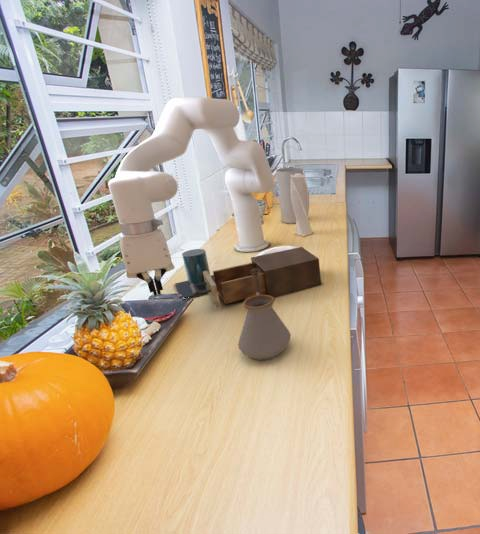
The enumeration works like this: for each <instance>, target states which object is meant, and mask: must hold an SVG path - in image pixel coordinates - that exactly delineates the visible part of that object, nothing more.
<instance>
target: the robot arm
mask: <svg viewBox="0 0 480 534" xmlns="http://www.w3.org/2000/svg"><path fill="white" fill-rule="evenodd" d="M240 117H241V116H240V111H239V108H238V106H237V105H236V103H234V102H233V101H232V100H231V99H228V98H213V97H198V96H197V97H195V96H194V97H174V98H171V99H170V100H169V101H168V102H167V103H166V104H165V106H164V109H163V111H162V112H161V115H160V118H159V120H158V122H157V124H156V126H155V129H154V131H153V133H152V135H151V136H149V137H148V138H146V139H145V140H143V141H142V142H140V143H139V144H138V145H136V146H135V147H134V148H132V149H131V150H130V151H128V153H126V154H125V156H124V157H123V158H122V160H121V162H120V164H119V166H118V168H117V170H116V173H115V176H114V177H113V178H111V179H109V180H108V183H107V186H108V189H109V190H108V191H109V194H110V196H111V199H112V203H113V206H114V211H115V213H116V216H117V220H118V223H119V227H120V232H121V233H119V234H118V240H119V247H120V253H121V256H122V261H123V265H124V267H125V271H126V278H127V279H137V278H138V279H140V280H142V281H144V282H145V283H147V286H148V290H149V293H153V297H156V296H158V295H159V296H160V295H162V293H161V291H163V290H164V289H163V285H162V281H161V280H162V278H163V277H164V276H165V274H166V273H167V272H170V271H172V270H174V269H175V265H174V263H173V260H172V257H171V251H170V250H169V245H168V243H167V241H166V237H165V235H164V232H163V231H162V230H163V229H161V228H159V227H160V226H162V225H164V223H163V220H162V219H157V218H156V217H155V213H154V210H153V205H152V204H153V203H158V202H159V203H160V202H167V201H169V200H172V199H173V198H174V197H175V196H176V195H177V193H178V189H179V186H178V181H177V180H176V178H175V177H174V176H173V175H172V174H170V173H168V172H165V171H153V170H152V169H153V168H155V167H157V166H159V165H162V164H164V163H167V162H170V161H172V160H174V159H176V158H177V159H178V158H179V157H181V156H183V155H184V154H185V153H186V151H187V149H188V147H189V144H190V141H191V139H192V138H193V137H192V136H193V133H194V131H195V130H203V132H205V133H206V134H207V136H208V137H209V139H210V141H211V143H212V146H213V148H214V150H215V153H216V155H217V157H218V159H219V162H220V163H221V165H222V166H224V167H225V168H228V169H227V170H226V172H225V174H224V183H225V186H226V189H227V191H228V194H229V197H230V202H231V206H232V212H233V219H234V223H235V229H236V234H237V239H238V243H236V244H235V251H238V252H242V253H252V252H258V251H262V250H266V249H267V248H268V247H269V245H270V244H269V241H268V240H265V238H264V232H263V226H262V218H261V212H260V206H259V205H260V204H259V202H258V200H257V198H256V197H255V195H254V194H268V193H270V192H272V191H273V190H274V187H275V180H274V176H273V175H274V174H273V172H272V169H271V166H270V162H269V160H268V156H267V155H266V152H265V149H264V148H263V146H262V145H261V144H260V143H259V142H257V141H255V140H241V139H239V137H238V135H237V133H236V130H235V129H234V128H236V127H237V126H238V124H239V122H240ZM151 170H152V171H151ZM151 271H154V276H153V278H152V276H150V274H149V272H151Z"/></svg>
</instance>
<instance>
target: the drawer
mask: <svg viewBox="0 0 480 534" xmlns="http://www.w3.org/2000/svg"><path fill="white" fill-rule="evenodd" d="M253 268H256V271H257V272H256V273H258V272H259V270H260V269H259V268H258V267H257V265H256V264H255V263H254V262H253V263H252V262H248V263H244V264H239V265H235V266H230V267H225V268H221V269H216V270H213V271H212V275H214V279H215V283H214V281H213V279H212V278H211V276H210V275H211V274H210V275H209V273H208V272H207V271H203V276H204V280H205V282H204V283H200V284H195V283H192V284H190V288H191V290H192V292H193V294H194V296H195V297H194V298H199V297H201V296H202V295H201V294H204V293H208V294H207V295H208V296H209V298H210V300H211V302H212V304H213V305H214V307H215V309H216V310H217V309H220V308H222V306H221V302H220V298H221V299H222V301H223V302H224V304H226V305H227V304H230V303H234V302H235V303H236V302H239V301H242V300H246V299H247V298H249V297H252V296H256V292H255V287H254V282H253V281H254V277H253V274H251V273H253V270H252V269H253ZM257 269H259V270H257ZM251 270H252V271H251ZM257 277H258V280H259V291H260V293H259V294H260V295H265V293H267V289H266V282H265V276H264V273H263V272H262V271H261V270H260V272H259V273H258V276H257ZM202 285H206V289H207V290H205V291H201V292H199V290H198V288H197V287H198V286H202ZM200 295H201V296H200ZM219 296H220V297H219Z"/></svg>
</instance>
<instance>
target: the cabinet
mask: <svg viewBox="0 0 480 534" xmlns="http://www.w3.org/2000/svg"><path fill="white" fill-rule="evenodd" d="M255 256H256V255H255ZM255 256H252V257H250V260H251V262H250V263H253V262H254V263H255V264H256V265H257V267H258V268H259V269H260V270H261V271H262V272H263V273H264V276H265V282H266V289H267V293H265V294H264V295H270V296H272V297H274V298H276V297H280V296H284V295H289V294H291V293H294V292H298V291H302V290H305V289H310V288H312V287H317V286H320V285H322V278H321V277H322V276H321V269H320V268H321V267H320V258H319V257H317V256H315V255H314V254H313V253H311V252H310V251H308V250H307V249H306V248H304V247H303V246H299V247H298V248H294V249H289V250H284V251H280V252H275V253H270V254H265V255H261V256H256V257H255Z"/></svg>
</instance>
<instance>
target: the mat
mask: <svg viewBox="0 0 480 534" xmlns="http://www.w3.org/2000/svg"><path fill="white" fill-rule="evenodd" d="M210 275H211V274H210ZM211 278H212V279H213V281H214V283H215V279H214V274H212V275H211ZM175 287H176V289H177V292H178V294H181V295H182V296H183V297H184V298H188V297H189V298H188V299H192V298H196V297H195V296H194V294H193V292H192V290H191V288H190V286H189V281H188V280H184V281H180V282H176V283H175ZM198 290H199V292H201V291H205V290H207V289H206V288H204V289H198ZM204 295H208V293H204V294H201V295H200V296H199V297H201V296H204Z"/></svg>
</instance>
